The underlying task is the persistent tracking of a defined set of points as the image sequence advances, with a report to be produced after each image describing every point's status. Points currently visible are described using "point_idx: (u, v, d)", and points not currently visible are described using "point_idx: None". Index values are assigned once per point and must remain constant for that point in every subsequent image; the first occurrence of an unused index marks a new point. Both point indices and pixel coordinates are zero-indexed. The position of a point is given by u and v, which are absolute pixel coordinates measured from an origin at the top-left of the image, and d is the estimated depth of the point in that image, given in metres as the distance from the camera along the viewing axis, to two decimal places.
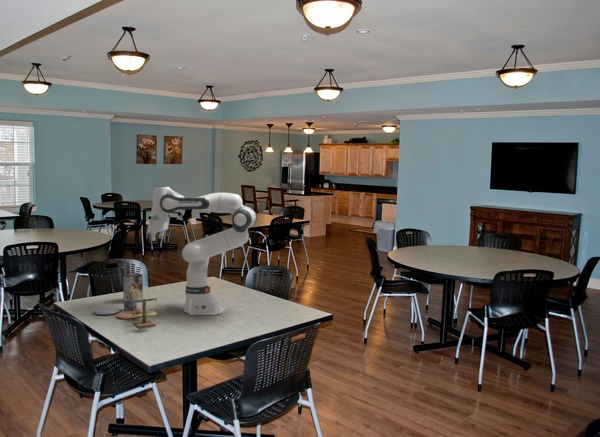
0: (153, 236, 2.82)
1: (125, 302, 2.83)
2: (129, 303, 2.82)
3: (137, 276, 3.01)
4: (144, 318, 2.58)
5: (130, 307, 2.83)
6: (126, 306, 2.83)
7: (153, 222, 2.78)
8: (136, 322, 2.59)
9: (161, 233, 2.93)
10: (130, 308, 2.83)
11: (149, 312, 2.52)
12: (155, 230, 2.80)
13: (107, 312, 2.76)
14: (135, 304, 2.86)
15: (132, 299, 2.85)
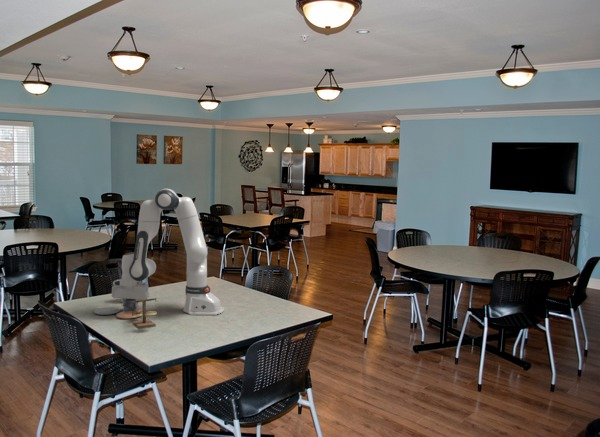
0: (138, 302, 2.85)
1: (125, 302, 2.83)
2: (129, 303, 2.82)
3: None
4: (144, 318, 2.58)
5: (130, 307, 2.82)
6: (126, 306, 2.83)
7: None
8: (136, 322, 2.59)
9: (123, 301, 2.85)
10: (130, 308, 2.83)
11: (149, 312, 2.52)
12: None
13: (107, 312, 2.76)
14: None
15: (132, 299, 2.85)
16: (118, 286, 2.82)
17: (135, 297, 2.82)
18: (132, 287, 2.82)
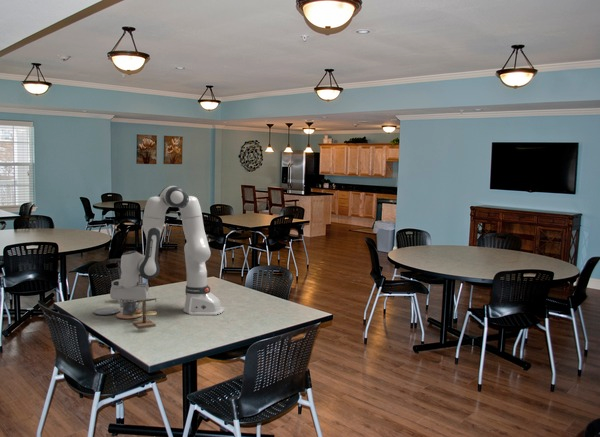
0: (139, 303, 2.73)
1: (124, 305, 2.71)
2: (128, 306, 2.71)
3: None
4: (144, 318, 2.58)
5: (129, 310, 2.71)
6: (125, 309, 2.71)
7: None
8: (136, 322, 2.59)
9: (121, 302, 2.74)
10: (129, 312, 2.71)
11: (149, 312, 2.52)
12: None
13: (107, 312, 2.76)
14: None
15: None
16: (117, 286, 2.70)
17: (135, 298, 2.71)
18: (131, 287, 2.70)
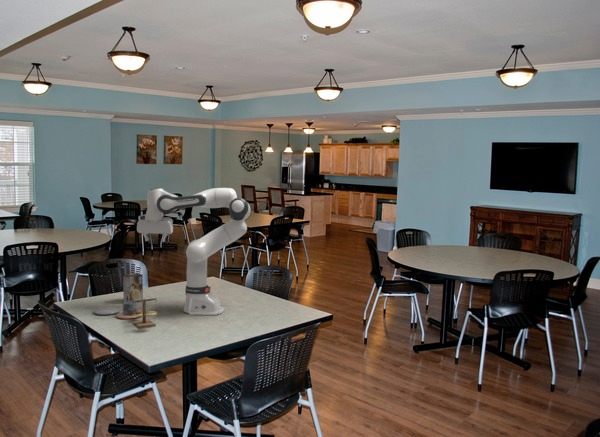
0: (165, 237, 2.92)
1: (124, 305, 2.71)
2: (128, 306, 2.71)
3: (137, 276, 3.01)
4: (144, 318, 2.58)
5: (129, 310, 2.71)
6: (125, 309, 2.71)
7: None
8: (136, 322, 2.59)
9: (146, 236, 2.93)
10: (129, 312, 2.71)
11: (149, 312, 2.52)
12: None
13: (107, 312, 2.76)
14: (135, 307, 2.74)
15: None
16: (143, 221, 2.90)
17: (160, 231, 2.90)
18: (157, 222, 2.89)
